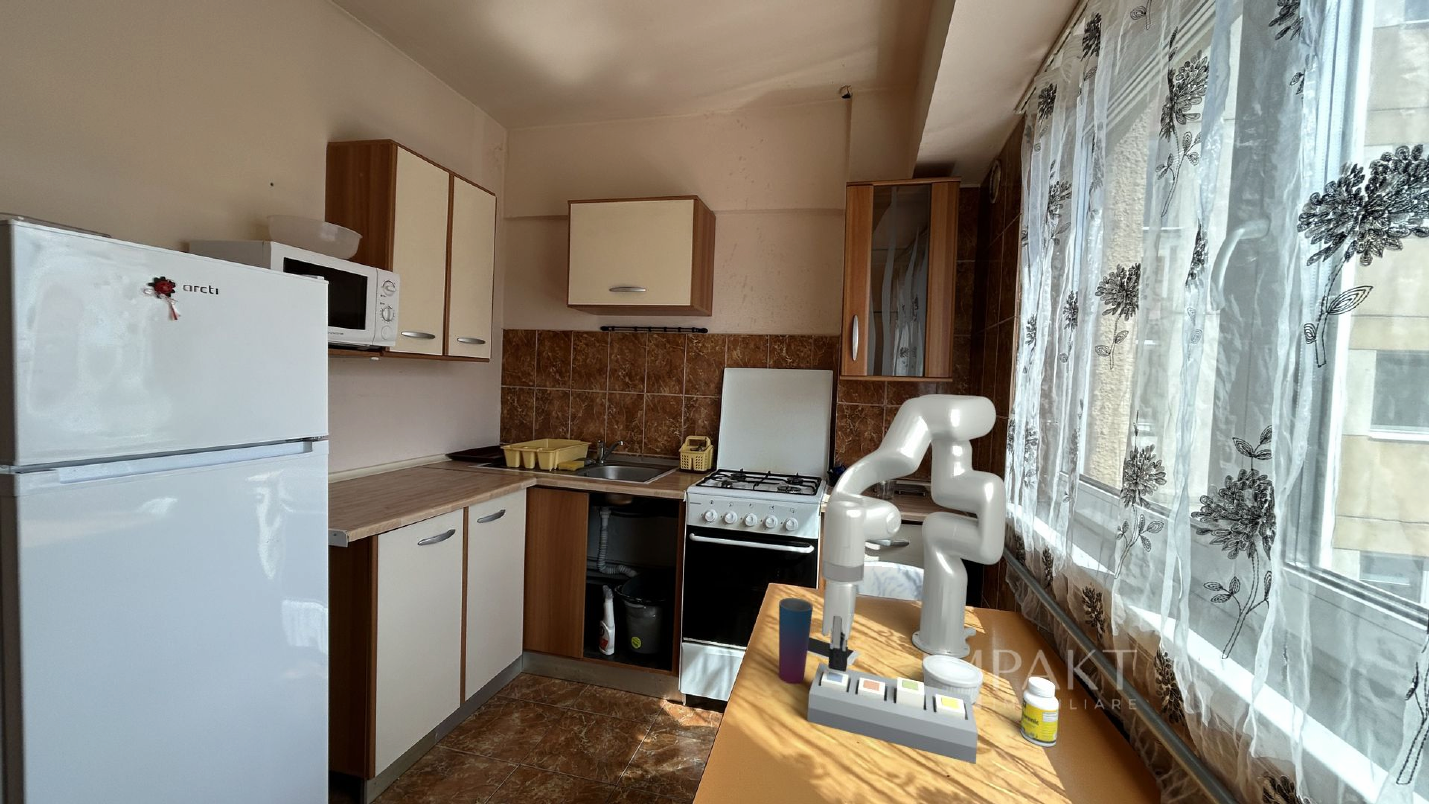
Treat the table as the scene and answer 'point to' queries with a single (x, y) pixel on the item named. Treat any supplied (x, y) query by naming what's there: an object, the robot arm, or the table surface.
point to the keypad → (894, 716)
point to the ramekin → (952, 675)
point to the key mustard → (949, 706)
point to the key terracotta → (871, 688)
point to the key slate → (835, 680)
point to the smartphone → (822, 650)
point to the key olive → (910, 693)
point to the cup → (793, 638)
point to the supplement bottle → (1040, 712)
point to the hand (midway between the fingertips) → (837, 668)
